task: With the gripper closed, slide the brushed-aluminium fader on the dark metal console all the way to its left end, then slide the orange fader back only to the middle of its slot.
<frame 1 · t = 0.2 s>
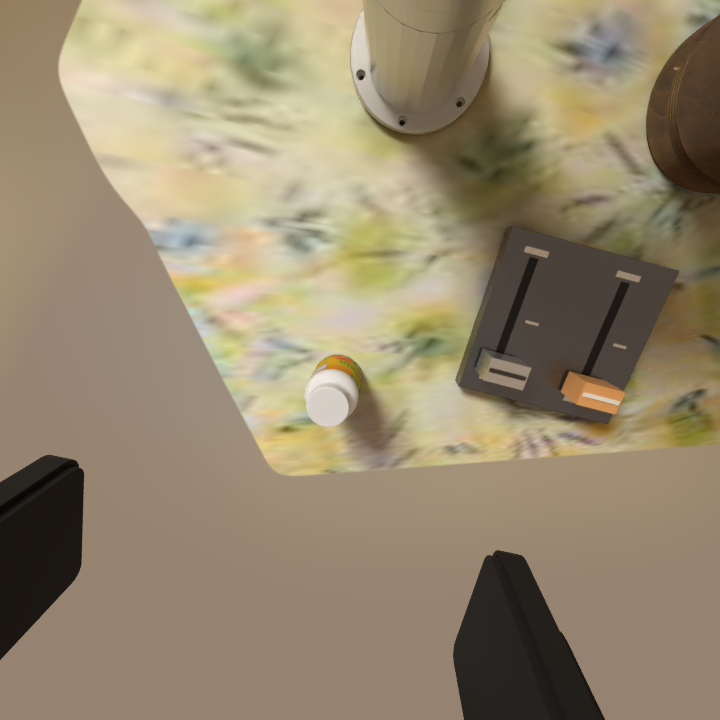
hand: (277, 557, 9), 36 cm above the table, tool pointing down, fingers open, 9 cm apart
orange fader: (591, 392, 41), point 4 cm above the table, slide at 10.0 cm
console: (555, 327, 43), on the table
aluminium fader: (502, 369, 40), point 4 cm above the table, slide at 10.0 cm
supplement bottle: (338, 375, 46), on the table
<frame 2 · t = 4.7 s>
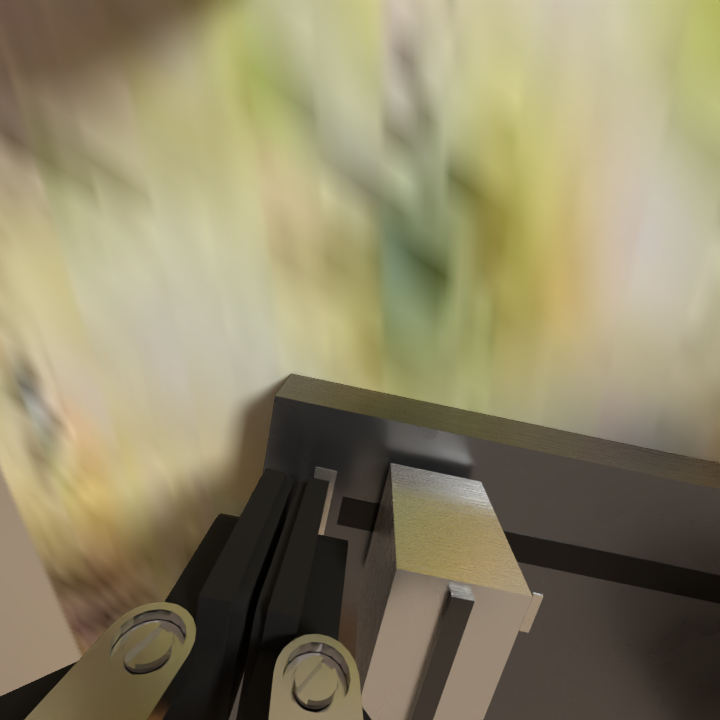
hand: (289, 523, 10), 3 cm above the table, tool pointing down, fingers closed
console: (481, 637, 15), on the table
aluminium fader: (425, 592, 9), point 4 cm above the table, slide at 9.0 cm, touching gripper
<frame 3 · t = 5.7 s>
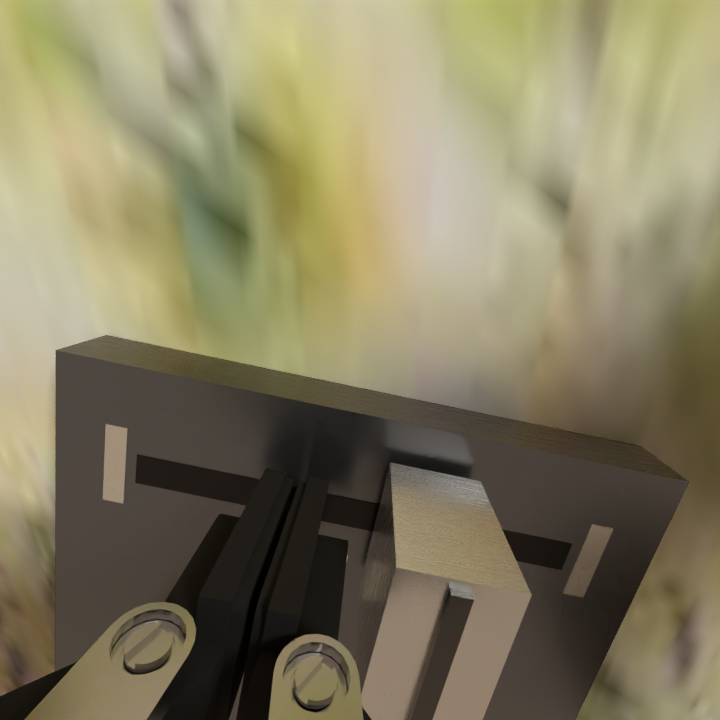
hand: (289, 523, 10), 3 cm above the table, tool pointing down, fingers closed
console: (326, 605, 15), on the table
aluminium fader: (424, 591, 9), point 4 cm above the table, slide at 3.2 cm, touching gripper
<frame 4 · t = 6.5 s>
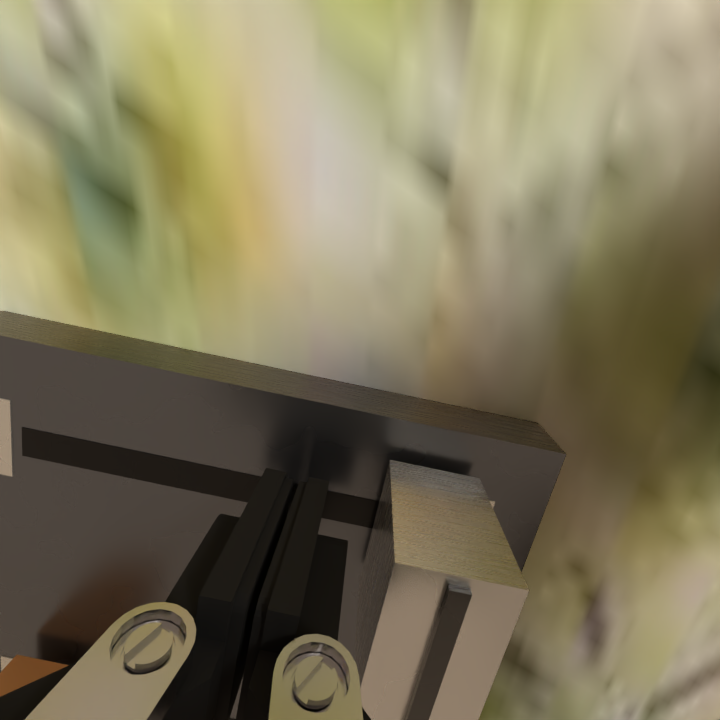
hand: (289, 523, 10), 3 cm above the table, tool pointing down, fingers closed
console: (238, 584, 15), on the table
aluminium fader: (423, 587, 9), point 4 cm above the table, slide at -0.1 cm, touching gripper
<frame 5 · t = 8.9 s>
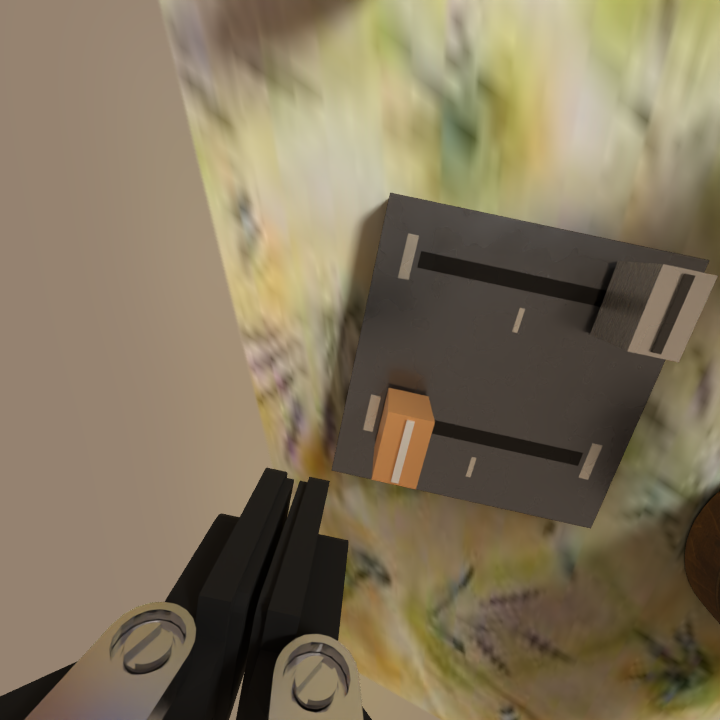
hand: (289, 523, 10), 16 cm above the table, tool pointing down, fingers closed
orange fader: (401, 436, 22), point 4 cm above the table, slide at 10.0 cm
console: (491, 366, 25), on the table
aluminium fader: (647, 309, 20), point 4 cm above the table, slide at 0.0 cm
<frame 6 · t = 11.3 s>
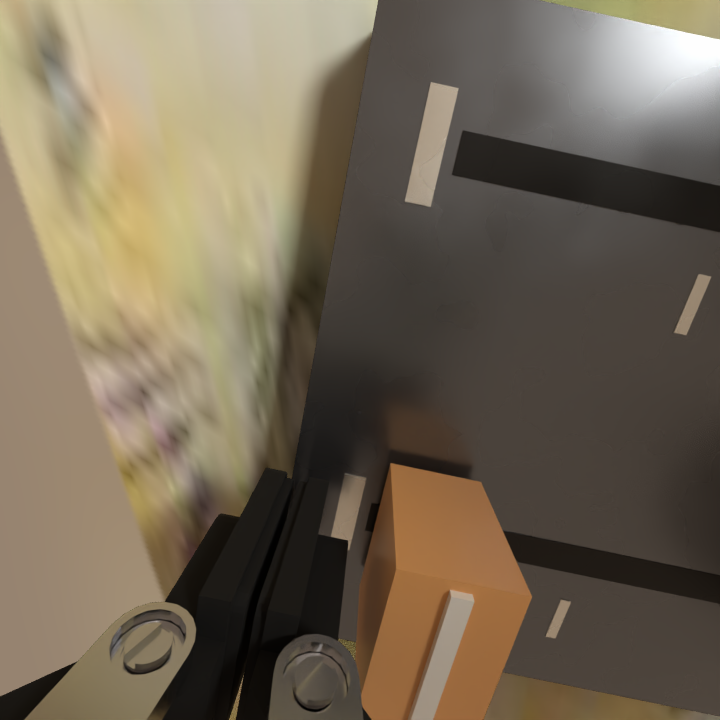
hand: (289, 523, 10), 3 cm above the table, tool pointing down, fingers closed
orange fader: (425, 592, 9), point 4 cm above the table, slide at 9.8 cm, touching gripper
console: (595, 405, 12), on the table
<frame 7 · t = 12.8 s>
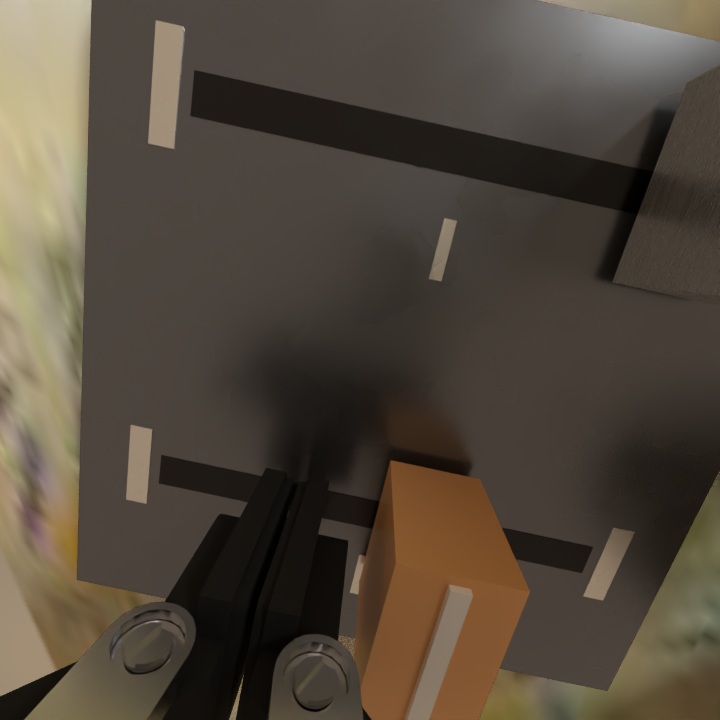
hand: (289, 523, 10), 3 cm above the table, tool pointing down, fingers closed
orange fader: (424, 588, 9), point 4 cm above the table, slide at 3.8 cm, touching gripper
console: (403, 363, 12), on the table
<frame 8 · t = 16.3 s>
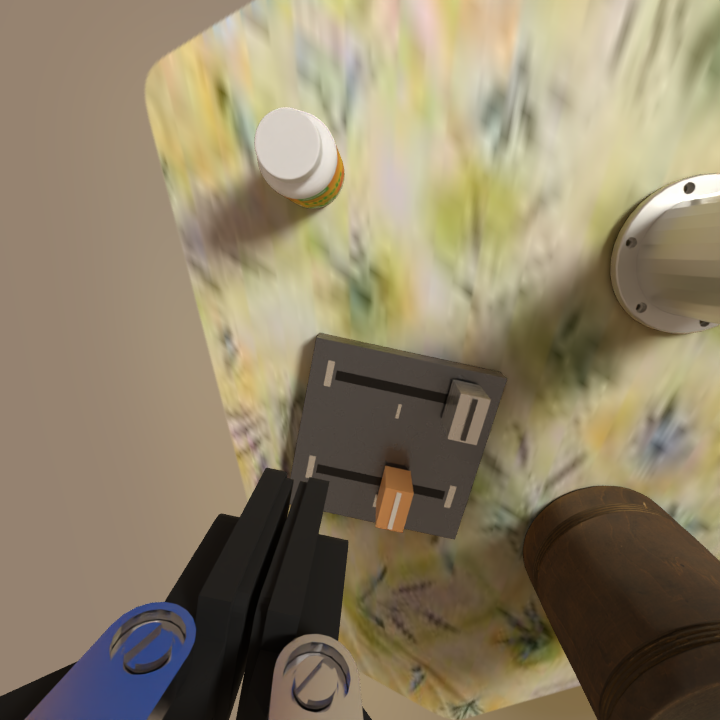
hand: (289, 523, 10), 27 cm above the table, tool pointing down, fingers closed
wooden container: (594, 546, 41), on the table
orange fader: (393, 498, 36), point 4 cm above the table, slide at 3.8 cm
console: (389, 435, 39), on the table
aluminium fader: (464, 411, 33), point 4 cm above the table, slide at 0.0 cm
supplement bottle: (313, 175, 33), on the table
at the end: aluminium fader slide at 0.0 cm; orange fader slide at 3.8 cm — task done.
